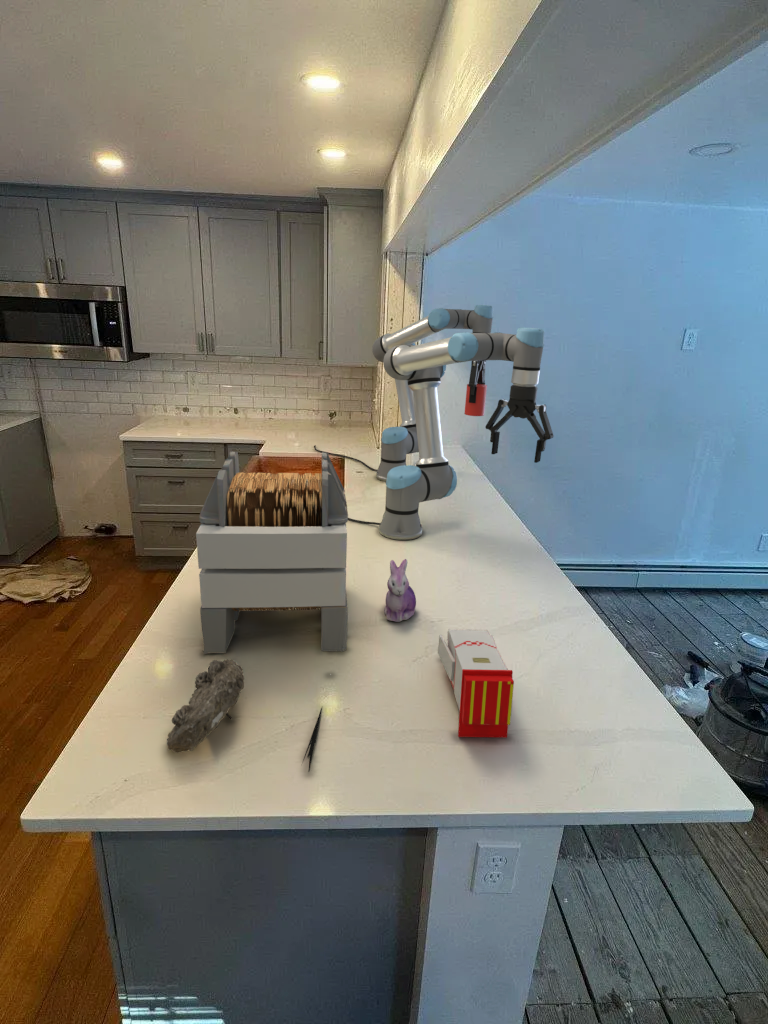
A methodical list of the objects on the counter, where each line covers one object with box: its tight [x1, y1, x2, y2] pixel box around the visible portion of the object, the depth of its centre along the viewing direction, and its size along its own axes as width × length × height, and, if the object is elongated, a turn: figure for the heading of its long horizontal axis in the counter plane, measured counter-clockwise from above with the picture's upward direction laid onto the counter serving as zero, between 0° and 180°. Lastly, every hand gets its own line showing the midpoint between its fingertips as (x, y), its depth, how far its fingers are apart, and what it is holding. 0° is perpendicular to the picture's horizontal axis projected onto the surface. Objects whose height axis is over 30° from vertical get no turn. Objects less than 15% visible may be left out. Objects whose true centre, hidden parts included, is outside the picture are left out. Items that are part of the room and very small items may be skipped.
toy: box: [437, 628, 515, 738], centre depth 117 cm, size 12×13×30 cm
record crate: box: [195, 450, 349, 655], centre depth 137 cm, size 34×33×41 cm
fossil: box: [166, 658, 245, 754], centre depth 106 cm, size 22×10×15 cm
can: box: [463, 383, 488, 417], centre depth 238 cm, size 8×8×12 cm
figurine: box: [384, 558, 417, 623], centre depth 145 cm, size 9×10×15 cm
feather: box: [301, 673, 332, 771], centre depth 108 cm, size 2×28×2 cm
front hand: (515, 457), depth 168 cm, fingers open, 13 cm apart
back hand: (475, 401), depth 239 cm, fingers closed on can, 8 cm apart
